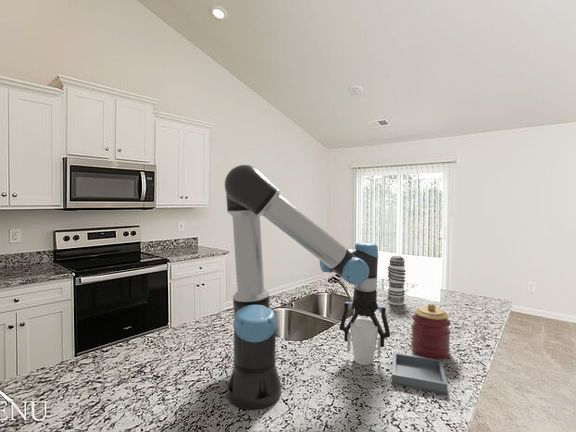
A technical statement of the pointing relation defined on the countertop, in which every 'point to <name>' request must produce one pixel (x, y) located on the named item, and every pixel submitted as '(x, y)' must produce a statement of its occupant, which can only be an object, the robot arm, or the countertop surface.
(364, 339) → the foam cup
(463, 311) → the countertop surface
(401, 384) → the tray
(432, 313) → the canister
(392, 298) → the decorative candle
